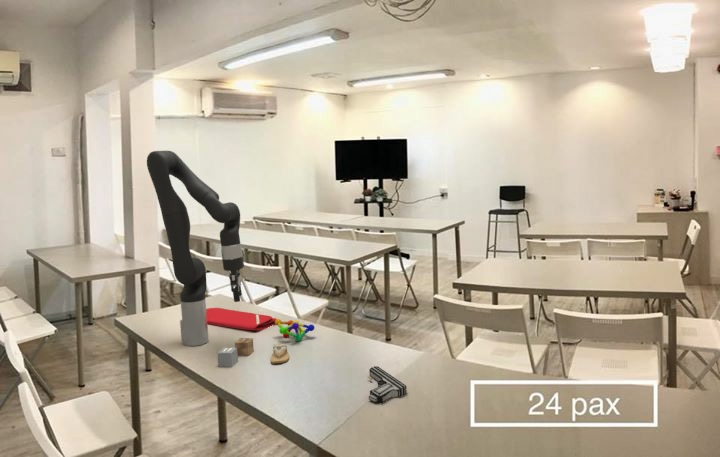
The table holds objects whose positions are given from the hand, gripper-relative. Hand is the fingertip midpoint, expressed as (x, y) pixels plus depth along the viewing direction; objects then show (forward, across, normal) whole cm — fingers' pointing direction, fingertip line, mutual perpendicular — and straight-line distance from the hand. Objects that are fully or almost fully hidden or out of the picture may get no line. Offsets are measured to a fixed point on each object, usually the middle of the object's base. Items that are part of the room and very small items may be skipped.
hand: (238, 298), depth 194 cm
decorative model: (+20, -4, +19) cm, 28 cm away
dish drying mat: (+19, -33, -7) cm, 39 cm away
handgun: (+22, +48, +42) cm, 67 cm away
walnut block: (+19, +8, 0) cm, 20 cm away
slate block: (+19, +17, -5) cm, 25 cm away
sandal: (+20, +14, +13) cm, 28 cm away
